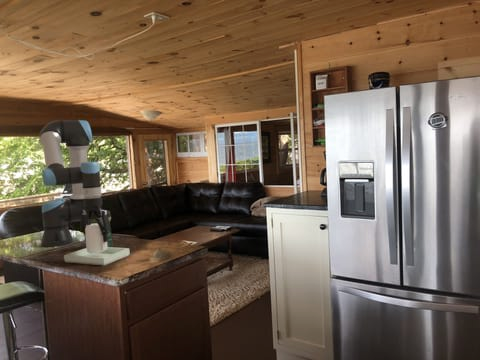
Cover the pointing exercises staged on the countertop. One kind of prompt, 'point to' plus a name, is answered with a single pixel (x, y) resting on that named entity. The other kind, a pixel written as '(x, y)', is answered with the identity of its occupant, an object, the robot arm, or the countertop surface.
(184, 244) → the countertop surface
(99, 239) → the beverage can
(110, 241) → the coffee jar
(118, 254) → the tray
